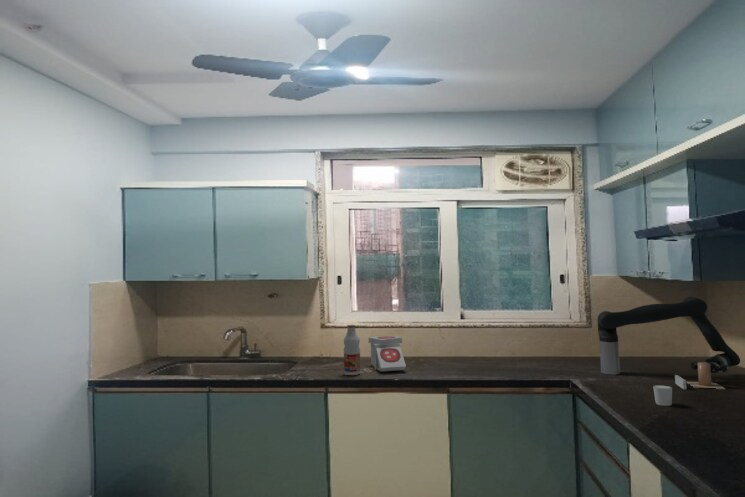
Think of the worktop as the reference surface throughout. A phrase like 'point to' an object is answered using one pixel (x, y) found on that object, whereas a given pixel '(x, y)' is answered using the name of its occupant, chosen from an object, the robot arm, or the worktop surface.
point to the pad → (696, 385)
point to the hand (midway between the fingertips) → (704, 368)
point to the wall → (680, 382)
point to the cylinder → (704, 374)
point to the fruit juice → (351, 351)
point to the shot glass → (663, 395)
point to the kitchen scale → (387, 353)
